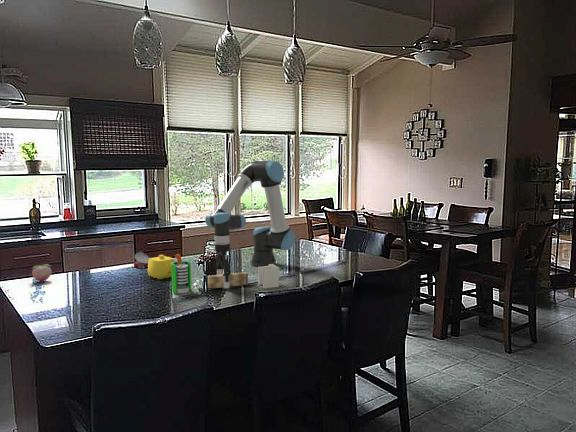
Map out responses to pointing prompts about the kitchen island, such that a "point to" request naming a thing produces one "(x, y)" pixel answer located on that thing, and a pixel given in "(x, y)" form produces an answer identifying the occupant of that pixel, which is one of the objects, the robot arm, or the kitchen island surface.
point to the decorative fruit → (41, 272)
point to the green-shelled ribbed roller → (181, 275)
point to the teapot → (160, 267)
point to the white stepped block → (268, 276)
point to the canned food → (141, 260)
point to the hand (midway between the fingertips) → (223, 284)
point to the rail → (234, 280)
